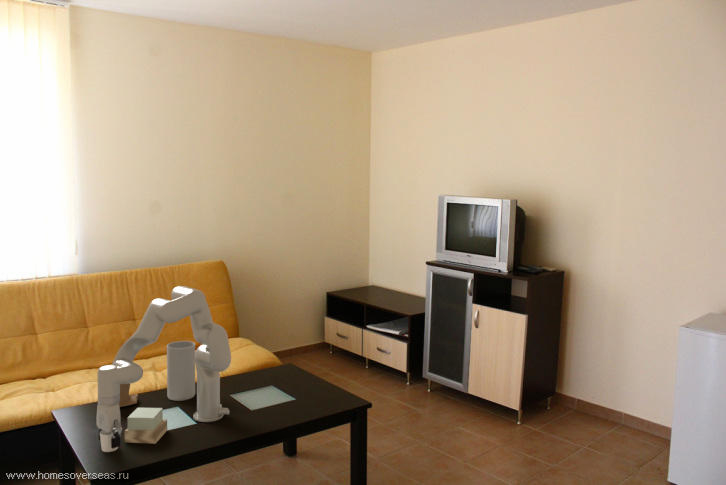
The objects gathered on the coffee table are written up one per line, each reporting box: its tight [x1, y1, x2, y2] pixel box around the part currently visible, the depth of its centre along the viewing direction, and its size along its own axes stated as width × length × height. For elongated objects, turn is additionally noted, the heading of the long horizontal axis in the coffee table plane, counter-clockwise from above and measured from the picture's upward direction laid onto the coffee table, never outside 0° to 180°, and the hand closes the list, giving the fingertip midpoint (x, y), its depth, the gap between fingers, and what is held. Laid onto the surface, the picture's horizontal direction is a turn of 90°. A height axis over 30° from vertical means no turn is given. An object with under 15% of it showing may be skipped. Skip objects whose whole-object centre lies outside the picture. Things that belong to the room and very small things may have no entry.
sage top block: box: [127, 407, 164, 431], centre depth 224 cm, size 10×10×5 cm
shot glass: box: [99, 428, 119, 453], centre depth 214 cm, size 7×7×7 cm
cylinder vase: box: [166, 340, 196, 402], centre depth 267 cm, size 12×12×25 cm
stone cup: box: [119, 383, 139, 408], centre depth 255 cm, size 15×12×15 cm
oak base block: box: [124, 418, 168, 444], centre depth 225 cm, size 12×12×5 cm
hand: (109, 443), depth 214 cm, fingers open, 9 cm apart
